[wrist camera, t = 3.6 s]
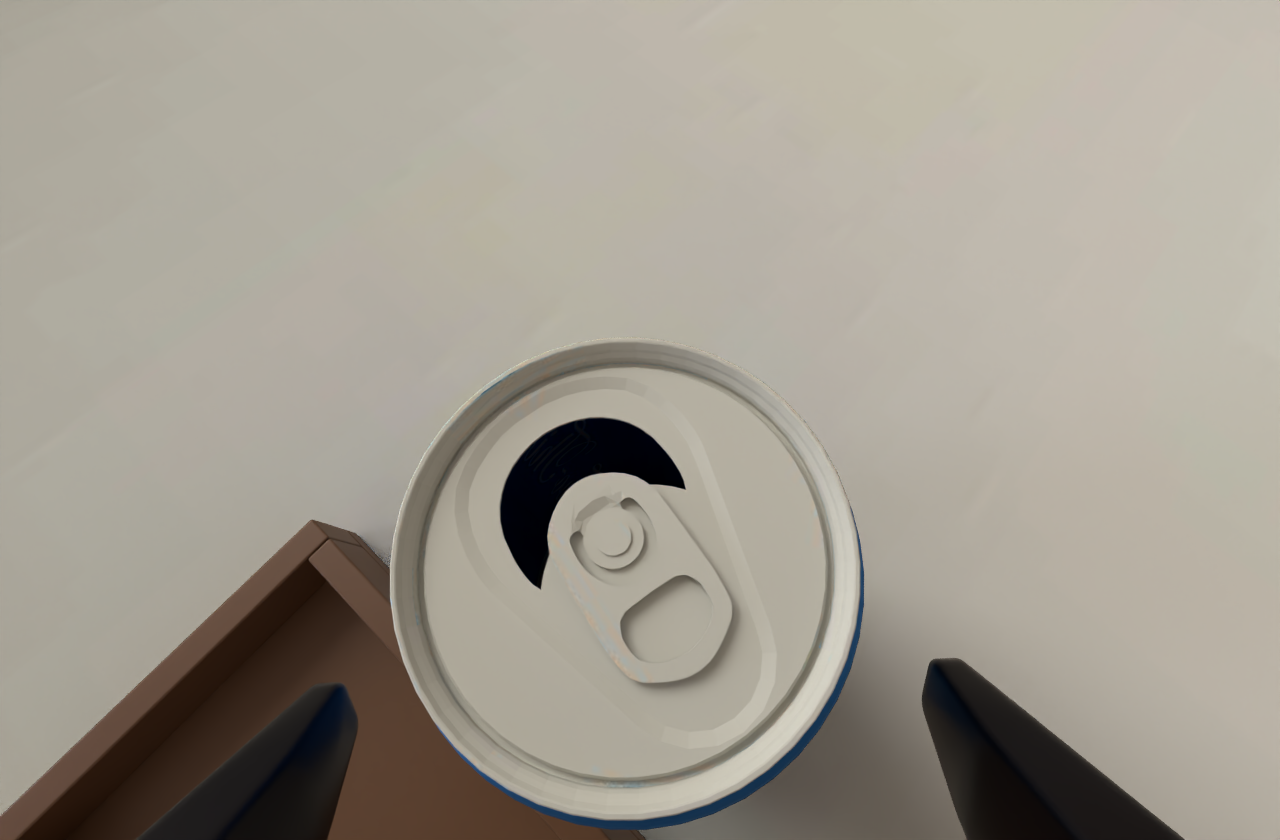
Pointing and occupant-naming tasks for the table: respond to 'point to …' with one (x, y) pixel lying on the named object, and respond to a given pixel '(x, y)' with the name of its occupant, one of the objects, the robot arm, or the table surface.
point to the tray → (262, 689)
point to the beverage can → (627, 583)
